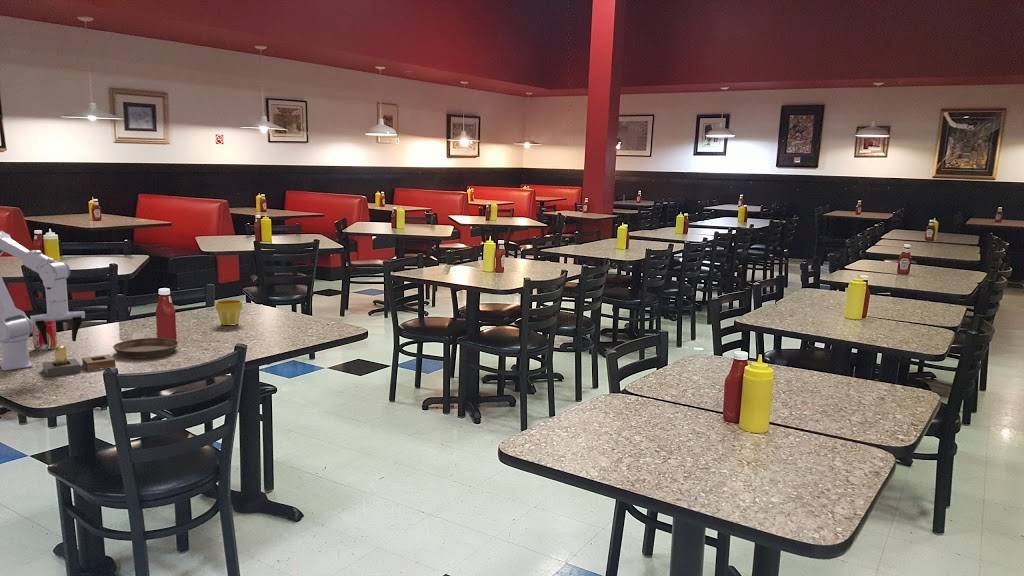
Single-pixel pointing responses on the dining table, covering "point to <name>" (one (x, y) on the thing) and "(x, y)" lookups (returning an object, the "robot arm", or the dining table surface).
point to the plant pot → (229, 311)
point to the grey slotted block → (61, 367)
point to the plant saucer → (145, 347)
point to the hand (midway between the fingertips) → (60, 342)
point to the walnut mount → (98, 362)
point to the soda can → (51, 336)
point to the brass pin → (60, 355)
